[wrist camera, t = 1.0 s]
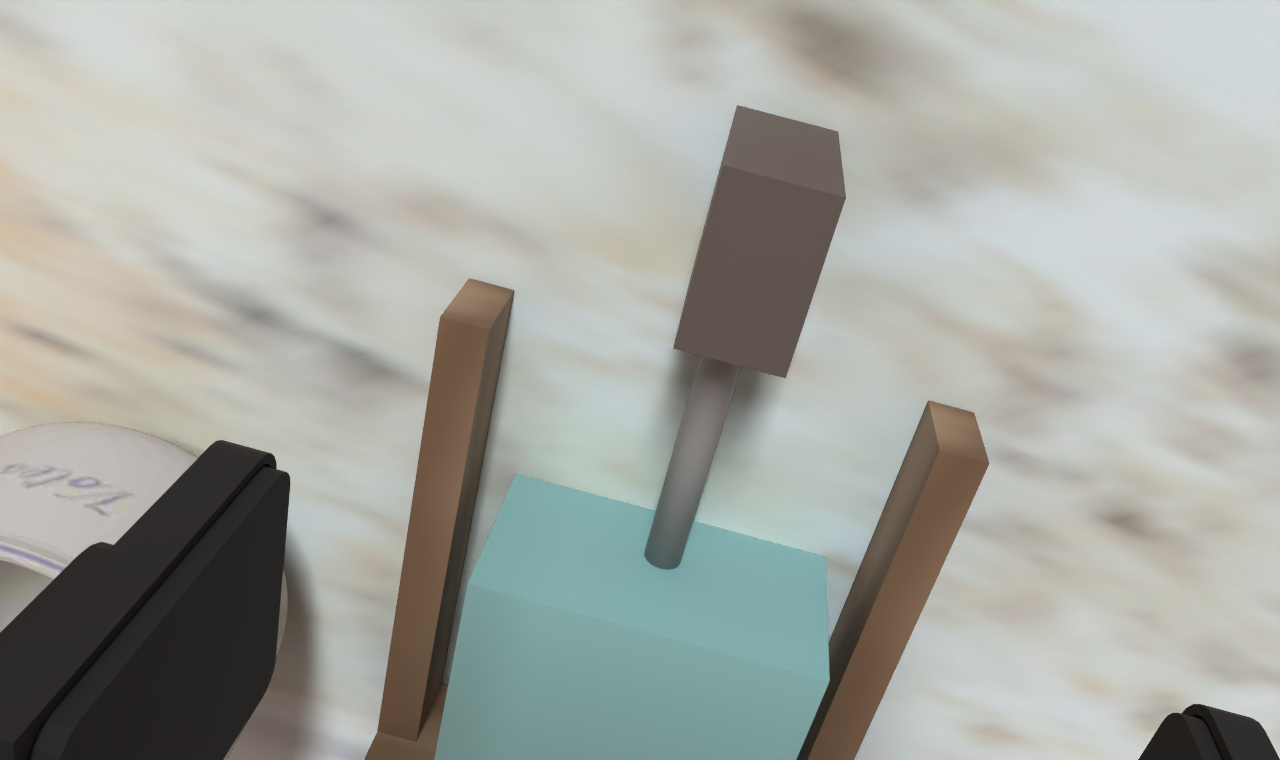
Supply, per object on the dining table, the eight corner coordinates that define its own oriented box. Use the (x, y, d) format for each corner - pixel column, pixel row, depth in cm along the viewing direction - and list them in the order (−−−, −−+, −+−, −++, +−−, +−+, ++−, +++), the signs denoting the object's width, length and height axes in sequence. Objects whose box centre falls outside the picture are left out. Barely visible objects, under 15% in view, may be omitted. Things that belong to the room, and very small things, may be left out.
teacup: (210, 329, 29) (21, 485, 22) (397, 628, 33) (288, 841, 26) (-146, 466, 33) (-400, 636, 26) (60, 719, 37) (-114, 925, 30)
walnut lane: (974, 412, 27) (996, 486, 24) (800, 809, 34) (800, 905, 31) (469, 278, 27) (427, 334, 24) (400, 700, 35) (361, 785, 32)
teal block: (977, 168, 25) (1015, 242, 20) (757, 730, 33) (750, 867, 29) (598, 68, 25) (555, 120, 20) (479, 654, 33) (430, 780, 29)
